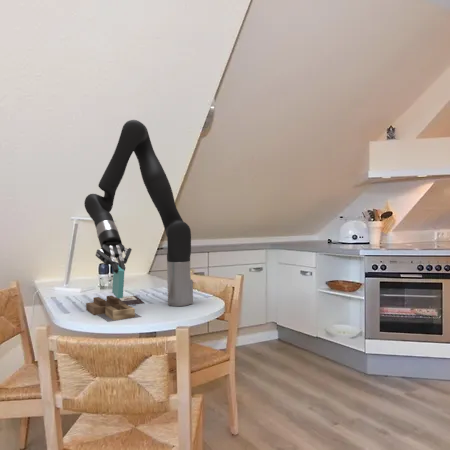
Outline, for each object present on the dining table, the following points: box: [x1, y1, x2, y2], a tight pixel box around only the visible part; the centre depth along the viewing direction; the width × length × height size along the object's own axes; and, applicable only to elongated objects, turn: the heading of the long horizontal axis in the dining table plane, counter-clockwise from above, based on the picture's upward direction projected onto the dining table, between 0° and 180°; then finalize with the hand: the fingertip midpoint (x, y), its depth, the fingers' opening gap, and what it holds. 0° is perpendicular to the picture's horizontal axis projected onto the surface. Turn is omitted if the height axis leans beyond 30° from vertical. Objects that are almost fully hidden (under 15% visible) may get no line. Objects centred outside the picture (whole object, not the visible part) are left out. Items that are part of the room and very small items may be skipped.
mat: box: [97, 312, 142, 323], centre depth 153 cm, size 12×12×1 cm
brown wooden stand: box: [85, 294, 126, 316], centre depth 162 cm, size 12×10×5 cm
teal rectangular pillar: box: [111, 264, 125, 298], centre depth 153 cm, size 2×6×10 cm, turn 33°
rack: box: [105, 304, 136, 321], centre depth 153 cm, size 7×9×3 cm
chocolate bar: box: [115, 295, 145, 306], centre depth 181 cm, size 9×1×18 cm
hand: (120, 271), depth 151 cm, fingers closed on teal rectangular pillar, 1 cm apart
